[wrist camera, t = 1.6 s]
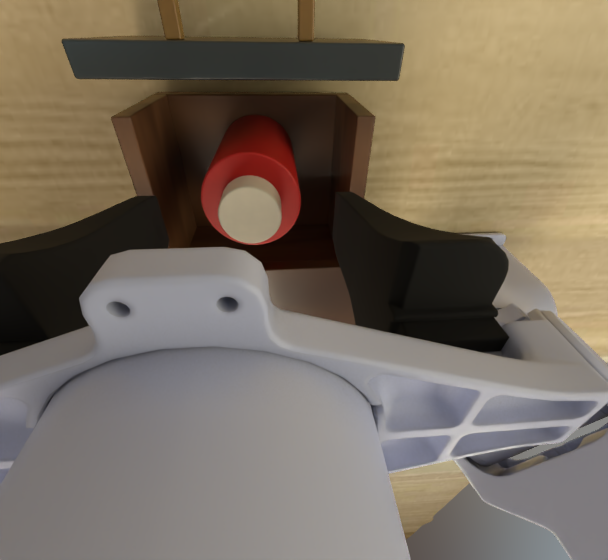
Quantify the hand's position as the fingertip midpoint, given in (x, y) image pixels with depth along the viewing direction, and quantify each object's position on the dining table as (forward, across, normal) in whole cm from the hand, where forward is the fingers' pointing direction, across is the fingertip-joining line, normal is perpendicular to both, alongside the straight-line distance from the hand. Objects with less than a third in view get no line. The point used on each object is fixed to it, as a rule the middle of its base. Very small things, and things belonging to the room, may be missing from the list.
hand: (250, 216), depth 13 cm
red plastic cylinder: (+8, 0, 0) cm, 8 cm away
